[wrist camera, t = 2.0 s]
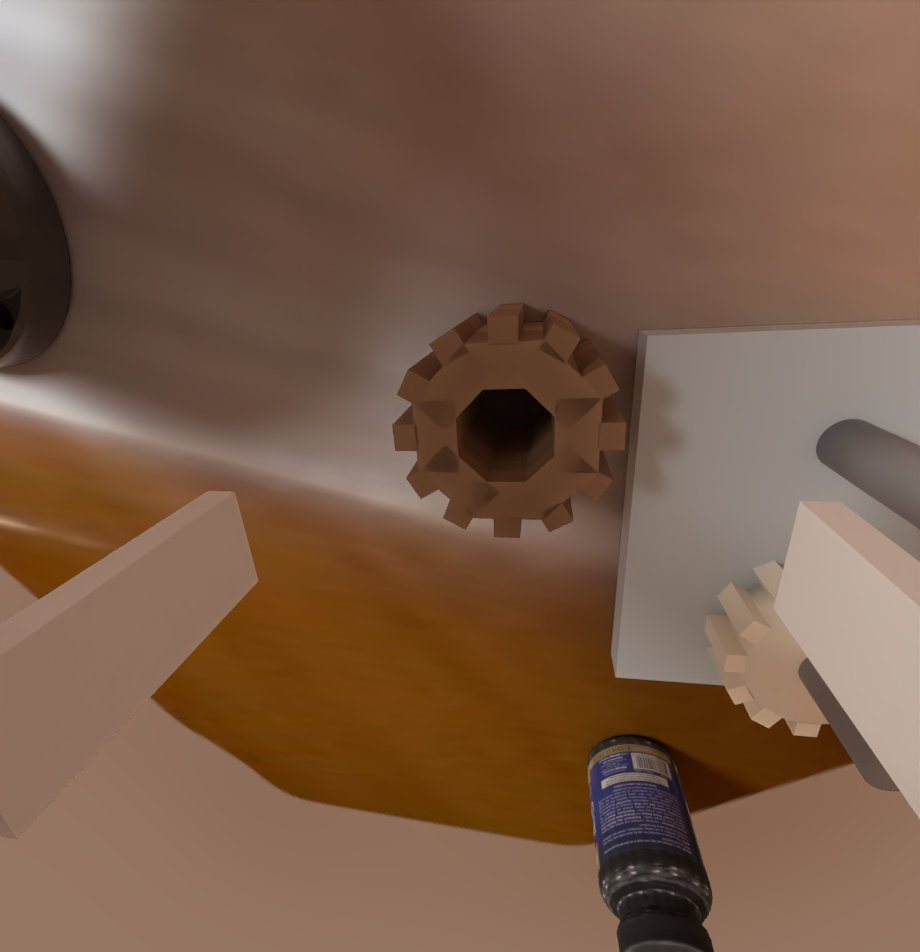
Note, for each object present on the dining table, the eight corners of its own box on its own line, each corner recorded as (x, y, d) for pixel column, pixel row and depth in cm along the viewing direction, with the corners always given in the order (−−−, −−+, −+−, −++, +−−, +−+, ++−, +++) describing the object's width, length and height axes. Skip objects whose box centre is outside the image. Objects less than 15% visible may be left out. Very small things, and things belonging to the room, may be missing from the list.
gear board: (610, 653, 30) (641, 815, 21) (638, 330, 23) (705, 370, 13) (932, 674, 27) (1126, 874, 18) (1092, 312, 20) (1568, 345, 11)
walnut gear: (436, 473, 27) (405, 534, 21) (422, 308, 24) (380, 322, 17) (597, 474, 26) (616, 540, 19) (608, 299, 22) (636, 309, 16)
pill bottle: (568, 753, 35) (580, 949, 25) (638, 719, 32) (683, 920, 22) (622, 800, 36) (655, 1006, 26) (694, 770, 33) (760, 984, 23)
